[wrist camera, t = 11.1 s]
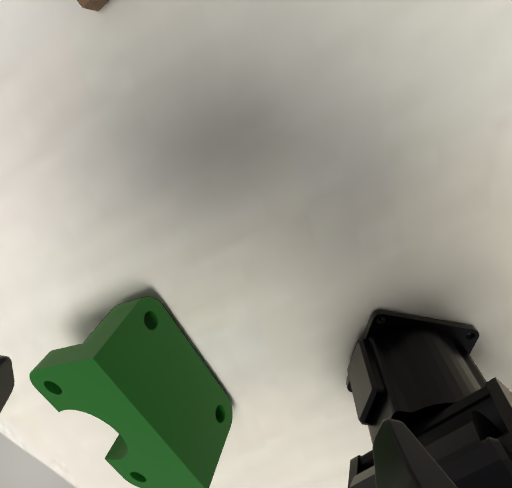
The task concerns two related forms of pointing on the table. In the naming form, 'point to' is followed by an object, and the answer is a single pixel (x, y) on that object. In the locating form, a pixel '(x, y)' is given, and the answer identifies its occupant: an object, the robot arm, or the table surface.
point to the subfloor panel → (92, 4)
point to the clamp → (143, 396)
